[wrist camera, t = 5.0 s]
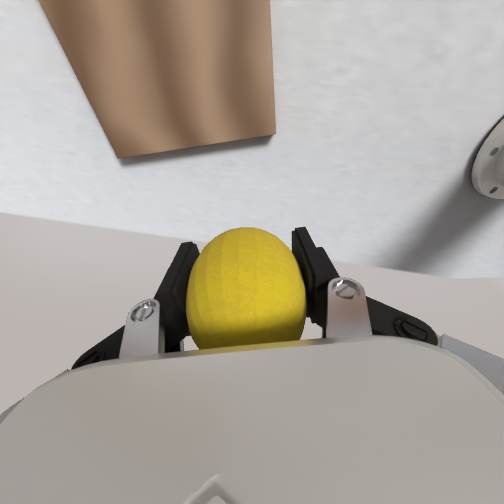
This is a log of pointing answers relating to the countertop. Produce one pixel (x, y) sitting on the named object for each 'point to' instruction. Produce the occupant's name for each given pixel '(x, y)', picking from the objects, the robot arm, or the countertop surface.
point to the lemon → (245, 291)
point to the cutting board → (171, 69)
